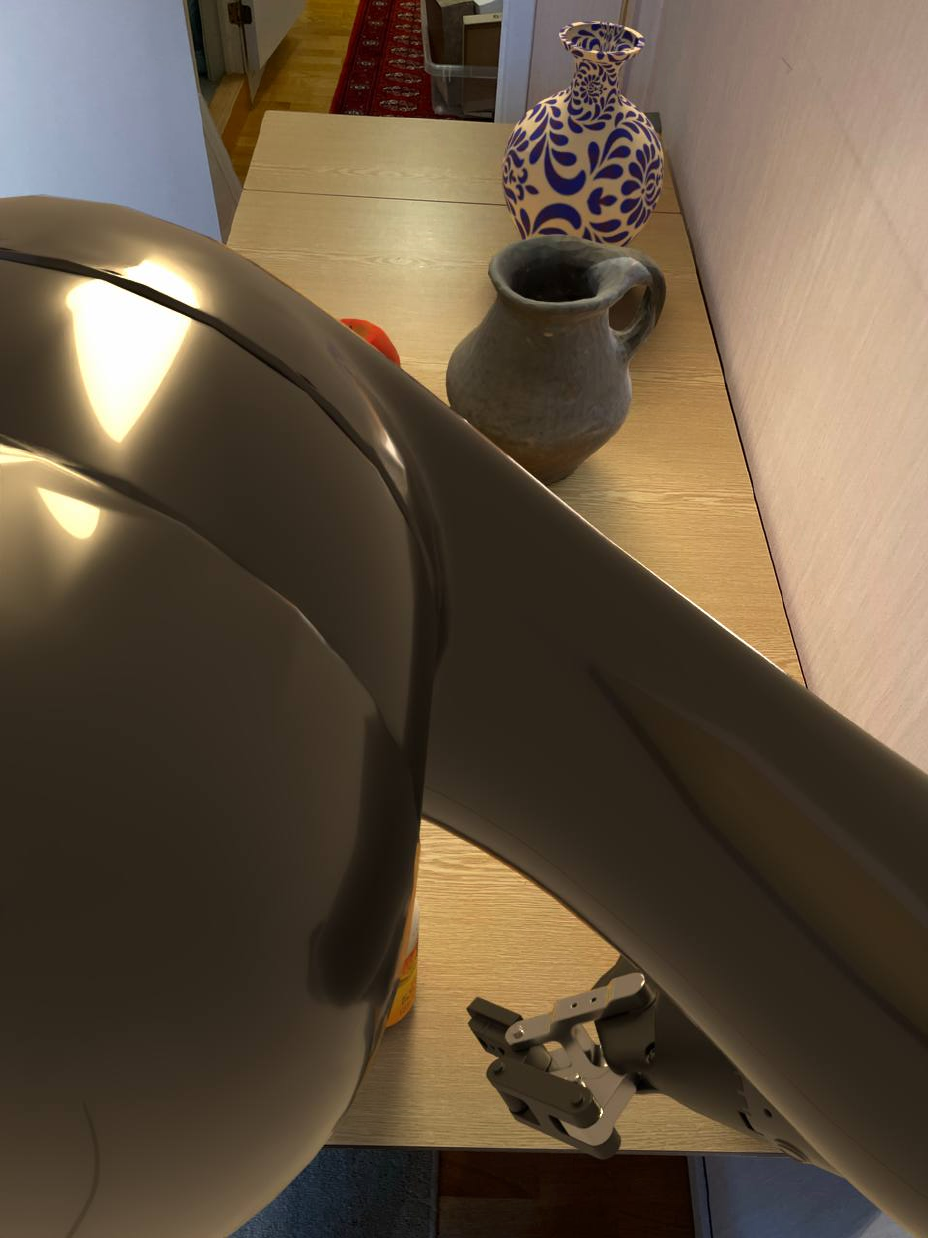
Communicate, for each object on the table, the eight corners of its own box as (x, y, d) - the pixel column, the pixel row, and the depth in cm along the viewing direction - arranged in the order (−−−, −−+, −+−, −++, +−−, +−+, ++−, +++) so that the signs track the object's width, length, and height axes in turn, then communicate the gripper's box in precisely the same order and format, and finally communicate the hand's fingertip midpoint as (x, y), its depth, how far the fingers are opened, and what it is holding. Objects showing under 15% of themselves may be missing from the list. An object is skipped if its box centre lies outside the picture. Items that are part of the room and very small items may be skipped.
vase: (613, 324, 132) (659, 88, 109) (469, 280, 137) (484, 46, 114) (662, 252, 145) (712, 28, 122) (528, 214, 150) (552, -7, 127)
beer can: (421, 1026, 72) (426, 946, 60) (338, 1039, 71) (326, 960, 59) (410, 945, 75) (413, 856, 64) (331, 957, 75) (319, 868, 63)
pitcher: (436, 399, 119) (443, 200, 100) (610, 397, 122) (650, 201, 103) (449, 516, 106) (461, 313, 87) (645, 511, 108) (698, 312, 89)
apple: (406, 381, 122) (406, 304, 113) (393, 436, 115) (393, 359, 106) (320, 372, 122) (314, 295, 114) (302, 426, 115) (294, 349, 107)
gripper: (868, 831, 38) (588, 800, 51) (658, 1132, 30) (395, 1004, 44) (940, 976, 40) (652, 909, 53) (758, 1292, 32) (477, 1122, 46)
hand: (536, 952), depth 48 cm, fingers open, 8 cm apart
